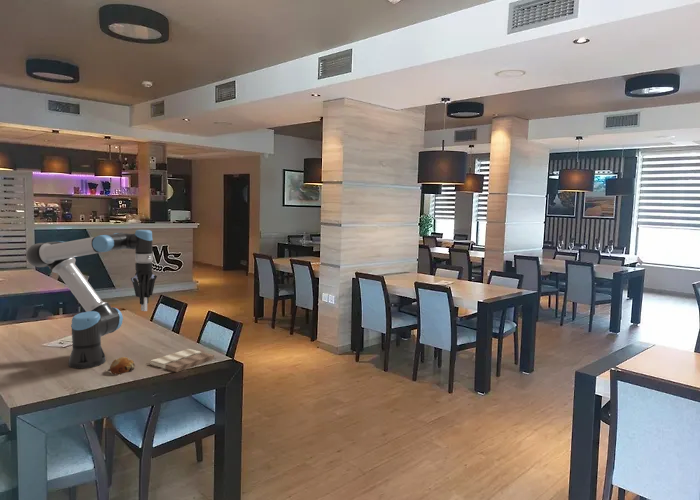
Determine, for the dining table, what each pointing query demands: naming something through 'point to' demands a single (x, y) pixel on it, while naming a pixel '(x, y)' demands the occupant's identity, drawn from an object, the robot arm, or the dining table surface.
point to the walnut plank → (189, 362)
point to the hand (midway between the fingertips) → (144, 310)
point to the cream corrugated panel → (173, 357)
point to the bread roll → (122, 365)
